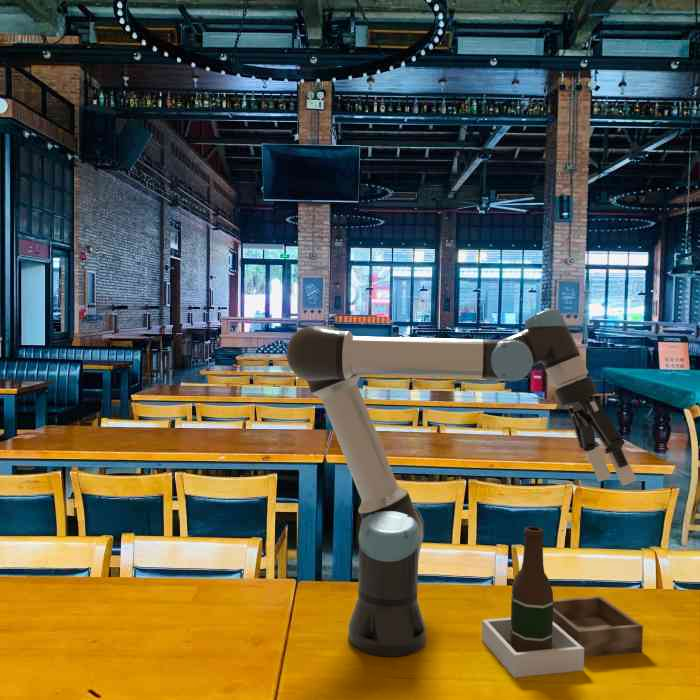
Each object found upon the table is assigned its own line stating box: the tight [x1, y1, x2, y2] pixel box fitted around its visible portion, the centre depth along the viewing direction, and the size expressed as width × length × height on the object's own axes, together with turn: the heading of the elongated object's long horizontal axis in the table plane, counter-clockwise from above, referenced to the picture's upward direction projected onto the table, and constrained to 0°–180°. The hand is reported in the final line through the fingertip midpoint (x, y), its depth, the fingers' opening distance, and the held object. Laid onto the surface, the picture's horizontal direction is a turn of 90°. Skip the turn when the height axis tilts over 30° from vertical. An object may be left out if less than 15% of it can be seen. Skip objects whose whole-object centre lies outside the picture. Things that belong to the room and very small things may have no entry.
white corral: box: [481, 617, 585, 679], centre depth 118 cm, size 14×14×4 cm
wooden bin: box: [553, 596, 644, 659], centre depth 125 cm, size 14×14×5 cm
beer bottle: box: [509, 526, 554, 652], centre depth 118 cm, size 8×8×24 cm
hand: (617, 481), depth 124 cm, fingers open, 13 cm apart
